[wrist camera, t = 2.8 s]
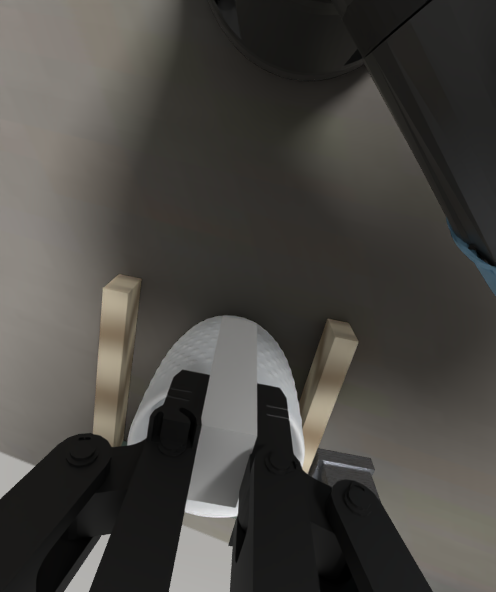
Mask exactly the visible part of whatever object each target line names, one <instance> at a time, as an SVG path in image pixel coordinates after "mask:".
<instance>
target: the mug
mask: <svg viewBox="0 0 496 592" xmlns="http://www.w3.org/2000/svg"><path fill="white" fill-rule="evenodd" d="M223 316H227V317H231V318H236V319H241V320H246V321H251V320H248V319H246V318H244V317H238V316H229V315H223ZM221 321H222V316H215V317H213V318H207V319H206V320H204V321H201V322H200V323H198V324H197V325H194V326H193V327H192V328H191V329H190V330H188V331H187V332H186V333H185V334H184V335H183V336H181V337H180V338H179V340H178V341H177V342H176V343H174V345H173V347H172V348H171V349H170V350H169V351H168V353H167V355H166V356H165V358H164V359H163V360H162V362H161V365H160V366H159V368H158V369H157V370H156V373H155V375H154V377H153V378H152V379H151V381H150V385H149V387H148V389H147V390H146V391H145V394H144V397H143V400H142V401H141V403H140V405H139V408H138V410H137V413H136V415H135V417H134V420H133V422H132V424H131V427H130V431H129V435H128V442H127V446H128V445H133V444H136V443H139V442H141V441H143V440H144V439H146V438H147V432H148V425H149V418H150V415H151V414H152V412H153V411H154V410H155V409H157V408H158V407H160V406H162V405H163V404H164V401H165V399H166V396H167V393H168V390H169V388H170V385H171V382H172V380H173V377H174V376H175V375H176V374H178V373H179V372H180V371H181V370H182V369H183V370H188V371H193V372H198V373H203V374H208V375H210V372H211V368H212V363H213V358H214V354H215V349H216V344H217V340H218V335H219V330H220V325H221ZM251 322H254V321H251ZM257 383H259V384H264V385H269V386H274V387H279V388H280V389H281V390H282V392H283V393H284V395H285V396H286V398H287V405H288V413H289V421H290V429H291V437H292V445H293V453H294V455H295V456H296V458H297V459H298V460H299V461H300V463H301V466H302V467H303V463H304V456H305V446H304V437H303V430H302V419H301V416H300V408H299V402H298V399H297V391H296V389H295V382H294V379H293V377H292V371H291V369H290V367H289V365H288V360H287V359H286V357H285V355H284V352H283V351H282V350H281V348H280V347H279V344H278V343H277V342H276V341H275V340H274V338H273V336H271V335H270V334H269V333H268V332H267V330H265V329H263V328H262V327H261V326H260V325H258V324H257ZM238 504H239V499H238V502H237V505H236V508H233V507H227V506H222V505H216V504H210V503H205V502H199V501H193V500H187V501H186V506H185V511H184V512H186V513H189V514H193V515H197V516H204V517H217V518H222V517H235V516H237V515H238Z"/></svg>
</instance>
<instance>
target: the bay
mask: <svg viewBox="0 0 496 592" xmlns="http://www.w3.org/2000/svg"><path fill="white" fill-rule="evenodd" d="M141 281H142V279H140V278H135V277H131V276H126V275H121V274H119V275H117V276H116V277H115V278H114V279H113V280H112V281H111V282H109V283H108V284H107V285H106V286H105V287H104V288H103V295H102V309H101V324H100V338H99V352H98V366H97V381H96V395H95V409H94V423H93V434H96V435H100V436H102V437H103V438H105V439H106V440H108V442H109V444H110V445H111V447H119V446H127V442H126V441H123V439H124V431H125V422H126V413H127V404H128V395H129V387H130V378H131V369H132V360H133V351H134V342H135V334H136V325H137V316H138V307H139V298H140V290H141ZM358 343H359V341H358V340H357V338H356V336H355V334H354V332H353V330H352V328H351V326H350V325H349V323H347V322H342V321H337V320H332V319H328V318H327V321H326V324H325V327H324V330H323V333H322V336H321V339H320V342H319V345H318V348H317V351H316V354H315V357H314V360H313V363H312V366H311V369H310V371H309V374H308V377H307V380H306V383H305V386H304V389H303V392H302V395H301V398H300V401H299V408H300V416H301V419H302V430H303V437H304V446H305V456H304V463H303V467H302V469H303V471H305V472H306V473H307V474H308V472H309V469H310V466H311V464H312V461H313V459H314V456H315V454H316V451H317V448H318V446H319V443H320V441H321V438H322V435H323V433H324V430H325V428H326V425H327V423H328V420H329V417H330V415H331V412H332V410H333V407H334V405H335V402H336V399H337V397H338V394H339V392H340V389H341V386H342V384H343V381H344V379H345V376H346V374H347V371H348V368H349V366H350V363H351V361H352V358H353V355H354V353H355V350H356V348H357V345H358ZM230 518H235V519H236V518H237V516H235V517H230Z"/></svg>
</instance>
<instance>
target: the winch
mask: <svg viewBox="0 0 496 592" xmlns="http://www.w3.org/2000/svg"><path fill="white" fill-rule="evenodd" d="M374 471H375V469H374V466H373V463H372V461H371V458H366V457H360V456H355V455H350V454H345V453H339V452H334V451H329V450H324V449H318V448H317V451H316V454H315V456H314V459H313V461H312V464H311V466H310V469H309V472H308V475H309V476H311V477H313V478H314V479H316V480H318V481H320V482H322V483H325V484H327V485H329V486H331V487H333V486H334V484H335V483H336V482H337V481H340V480H344V479H347V480H354V481H357V482H359V483H361V484H363V485H365V486H366V487H367V488H368V489H370V490H371V491H372V492H373V493H374V494H375V495H376V497H377V498H378V499H379V501H380V498H379V495H378V493H377V490H376V487H375V484H374V481H373V478H372V475H373V473H374ZM380 502H381V501H380Z"/></svg>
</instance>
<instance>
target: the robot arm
mask: <svg viewBox="0 0 496 592" xmlns="http://www.w3.org/2000/svg"><path fill="white" fill-rule="evenodd" d="M208 1H209V4H210V7H211V9H212V11H213V13H214V15H215V17H216V19H217V21H218V23H219V25H220V26H221V28H222V30H223V31H224V33H225V34H226V35H227V37H228V38H229V39H230V41H231V42H232V43H233V44H234V45H235V47H236V48H237V49H238V50H239V51H240V52H241V53H242V54H243V55H244V56H246V57H247V58H248V59H249V60H250V61H252V62H253V63H255V64H256V65H258V66H259V67H261V68H262V69H264V70H266V71H268V72H270V73H273V74H275V75H278V76H281V77H284V78H288V79H293V80H301V81H315V80H324V79H329V78H333V77H337V76H340V75H343V74H345V73H348V72H350V71H352V70H354V69H356V68H358V67H360V66H361V65H363V64H364V65H365V66H366V68H367V70H368V72H369V74H370V75H371V77H372V79H373V81H374V83H375V85H376V86H377V88H378V90H379V92H380V94H381V96H382V97H383V99H384V101H385V103H386V105H387V107H388V108H389V110H390V112H391V114H392V116H393V117H394V119H395V121H396V123H397V125H398V127H399V128H400V130H401V132H402V134H403V136H404V138H405V139H406V141H407V143H408V145H409V147H410V148H411V150H412V152H413V154H414V156H415V158H416V159H417V161H418V163H419V165H420V167H421V169H422V171H423V173H424V175H425V177H426V179H427V181H428V183H429V185H430V186H431V188H432V190H433V192H434V194H435V196H436V198H437V200H438V202H439V204H440V206H441V208H442V210H443V211H444V213H445V215H446V221H447V224H448V227H449V230H450V232H451V236H452V238H453V239H454V242H455V243H456V245H457V246H458V247H459V249H460V250H461V251H462V252H463V253H464V254H465V255H466V256H467V257H468V258H469V259H470V260H471V261H473V262H474V263H475V265H476V266H477V268H478V270H479V271H480V273H481V274H482V276H483V278H484V279H485V281H486V283H487V284H488V286H489V287H490V289H491V290H492V292H493V293H494V295H495V296H496V0H208ZM238 499H239V504H238V515H237V518H236V521H235V525H234V528H233V531H232V535H231V538H230V542H229V546H233V552H232V568H231V583H230V592H433V591H432V590H431V588H430V586H429V584H428V583H427V581H426V579H425V577H424V576H423V574H422V572H421V571H420V569H419V567H418V565H417V564H416V562H415V560H414V559H413V557H412V555H411V553H410V552H409V550H408V548H407V547H406V545H405V543H404V541H403V540H402V538H401V536H400V535H399V533H398V531H397V529H396V528H395V526H394V524H393V523H392V521H391V519H390V517H389V516H388V514H387V512H386V511H385V509H384V507H383V505H382V504H381V502H380V501H379V499H378V498H377V497H376V495H375V494H374V493H373V492H372V491H371V490H370V489H368V488H367V487H366V486H365V485H363V484H361V483H359V482H357V481H354V480H347V479H344V480H340V481H337V482H336V483H335V484H334V486H333V487H331V486H329V485H327V484H325V483H322V482H320V481H318V480H316V479H314V478H313V477H311V476H309V475H308V474H307V473H306V472H305V471H303V469H302V466H301V463H300V461H299V460H298V459H297V458H296V456H295V455H294V453H293V445H292V437H291V429H290V421H289V413H288V405H287V398H286V396H285V395H284V393H283V392H282V390H281V389H280V388H279V387H274V386H269V385H264V384H259V383H257V323H255V322H251V321H246V320H241V319H236V318H231V317H227V316H222V321H221V325H220V330H219V335H218V340H217V344H216V349H215V354H214V358H213V363H212V368H211V372H210V375H208V374H203V373H198V372H193V371H188V370H183V369H182V370H181V371H180V372H179V373H178V374H176V375H175V376H174V377H173V380H172V382H171V385H170V388H169V390H168V393H167V396H166V399H165V401H164V404H163V405H162V406H160V407H158V408H157V409H155V410H154V411H153V412H152V414H151V415H150V418H149V425H148V432H147V438H146V439H144V440H143V441H141V442H139V443H136V444H133V445H128V446H119V447H111V445H110V444H109V442H108V440H106V439H105V438H103V437H102V436H100V435H96V434H91V433H87V434H78V435H75V436H72V437H69V438H67V439H66V440H64V441H63V442H61V443H60V444H58V445H57V446H56V447H55V448H54V449H53V450H52V451H51V452H50V453H49V454H48V455H47V456H46V457H45V458H44V459H42V460H41V461H40V462H39V463H38V464H37V465H36V466H35V467H34V468H33V469H32V470H31V471H30V472H29V473H28V474H27V475H25V476H24V477H23V478H22V479H21V480H20V481H19V482H18V483H17V484H16V485H15V486H14V487H13V488H12V489H11V490H10V491H9V492H8V493H6V494H5V495H4V496H3V497H2V498H1V499H0V592H64V591H65V589H66V588H67V586H68V585H69V583H70V582H71V580H72V579H73V577H74V576H75V574H76V573H77V571H78V570H79V568H80V567H81V565H82V564H83V562H84V561H85V559H86V558H87V557H88V555H89V553H90V552H91V550H92V549H93V548H94V546H95V545H96V543H97V542H98V540H99V539H100V537H101V535H106V534H111V535H110V538H109V540H108V543H107V546H106V548H105V551H104V554H103V556H102V559H101V562H100V564H99V567H98V569H97V572H96V575H95V577H94V580H93V583H92V585H91V588H90V591H89V592H169V587H170V581H171V577H172V572H173V567H174V562H175V557H176V551H177V547H178V542H179V536H180V532H181V526H182V521H183V516H184V511H185V506H186V501H187V500H193V501H199V502H205V503H210V504H216V505H222V506H227V507H233V508H236V505H237V502H238Z"/></svg>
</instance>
